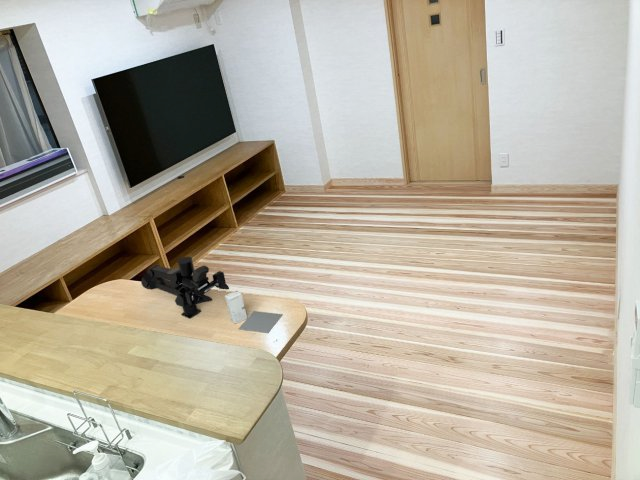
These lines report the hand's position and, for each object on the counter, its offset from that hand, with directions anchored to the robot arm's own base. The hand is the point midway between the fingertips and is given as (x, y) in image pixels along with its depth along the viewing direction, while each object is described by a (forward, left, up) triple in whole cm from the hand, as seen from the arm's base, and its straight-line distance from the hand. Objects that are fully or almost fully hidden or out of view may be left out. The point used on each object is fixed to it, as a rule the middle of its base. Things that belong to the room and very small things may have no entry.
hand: (220, 293), depth 206 cm
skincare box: (-1, +6, -17) cm, 18 cm away
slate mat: (+9, +9, -16) cm, 21 cm away
